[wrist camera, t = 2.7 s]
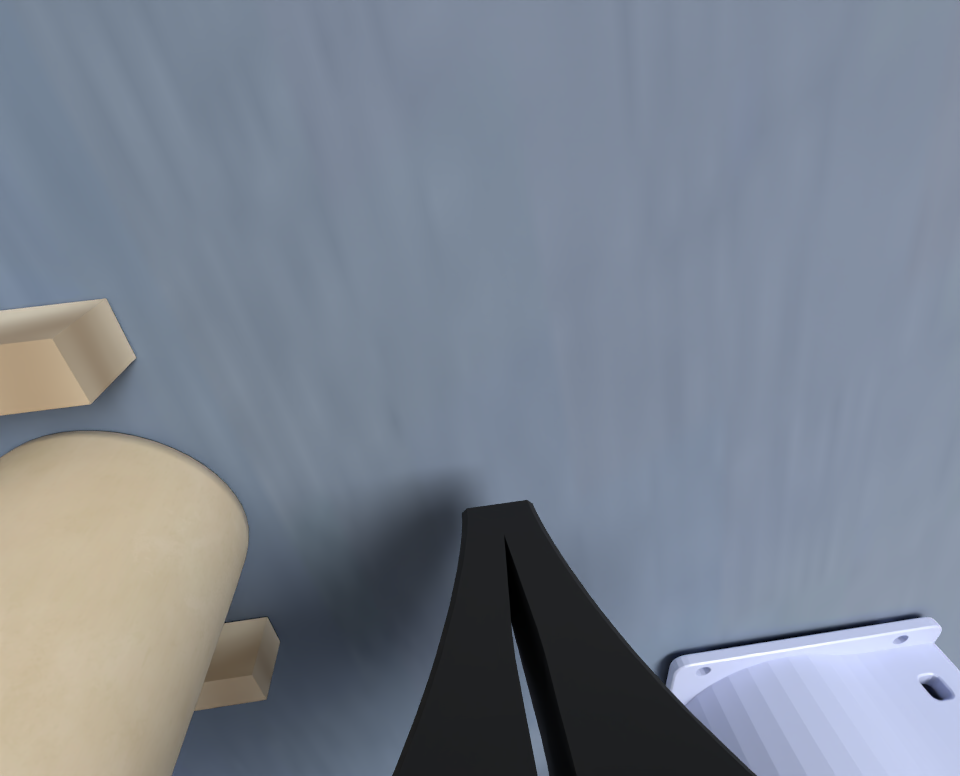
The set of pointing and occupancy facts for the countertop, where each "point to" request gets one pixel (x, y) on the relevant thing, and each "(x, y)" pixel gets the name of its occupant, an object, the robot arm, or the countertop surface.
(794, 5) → the countertop surface
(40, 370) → the channel
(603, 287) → the countertop surface
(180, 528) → the candle
